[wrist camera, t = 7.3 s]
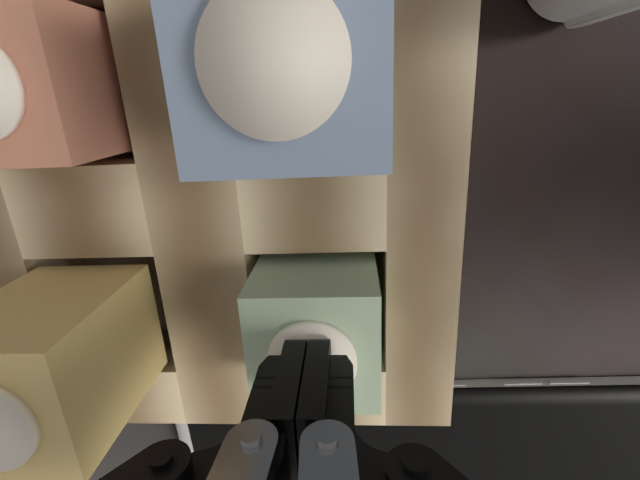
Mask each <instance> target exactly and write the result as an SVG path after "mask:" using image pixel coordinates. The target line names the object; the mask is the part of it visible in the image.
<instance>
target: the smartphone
mask: <svg viewBox="0 0 640 480" xmlns="http://www.w3.org/2000/svg"><path fill="white" fill-rule="evenodd" d="M175 425H176V429H177V433H178V437H179V440H181V441H183V442H185V443H186V444H187V445H188V446H189V448H190V450H191V453H192V452H196V451H200V450H203V449H207V448H211V447H214V446H217V445H219V444H221V443H223V441H224V438H225V436H226V435H227V433H228V432H229V430H230V429H232V428H233V427H234V426H235V425H237V424H177V423H175ZM355 430H356V432H357V434H358V436H359V437H360V438H361V440H362V441H364V442H365V443H366V444H367V445H369V446H371V447H373V448H375V449H378V450H381V451H384V452H388V453H389V452H390V450H391V449H393V448H394V447H396V446H397V445H400V444H404V443H418V444H422V445H425V446H427V447H429V448H431V449H432V450H434V451H435V452H436V453H438V454H439V455H440V456H441V457H442V458H444V459H445V460H446V461H447V462H448V463H450V464H451V465H452V466H453V467H455V468H456V469H457V470H458V471H459V472H461V473H462V474H463V475H464V476H465V477H467V478H468V479H469V480H640V376H608V377H559V378H510V379H462V380H454V386H453V400H452V413H451V426H385V425H355Z"/></svg>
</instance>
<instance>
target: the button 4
mask: <svg viewBox="0 0 640 480" xmlns="http://www.w3.org/2000/svg"><path fill="white" fill-rule="evenodd" d="M237 303H238V311H239V318H240V326H241V334H242V342H243V349H244V357H245V365H246V373H247V381H248V388H249V395H250V392H251V389H252V385H253V382H254V379H255V376H256V373H257V370H258V367H259V365H260V364H261V363H262V362H263V361H264V360H265V358H266V357H267V356H268V355H281V352H282V348H283V344H284V341H285V340H306V339H307V341H308V340H309V339H330V340H331V355H347V356H348V358H349V359H350V361H351V362H352V364H353V376H354V415H381V312H382V297H381V291H380V285H379V278H378V272H377V266H376V260H375V254H374V252H341V253H295V254H261V255H260V257H259V259H258V261H257V262H256V264H255V266H254V268H253V270H252V272H251V274H250V275H249V277H248V279H247V281H246V283H245V285H244V287H243V288H242V290H241V292H240V294H239V296H238V298H237Z"/></svg>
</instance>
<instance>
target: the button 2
mask: <svg viewBox="0 0 640 480" xmlns="http://www.w3.org/2000/svg"><path fill="white" fill-rule="evenodd" d="M167 362H168V361H167V356H166V351H165V346H164V341H163V337H162V332H161V327H160V322H159V317H158V312H157V307H156V302H155V297H154V292H153V287H152V282H151V277H150V272H149V268H148V264H138V265H89V266H40V267H37V268H35V269H33V270H32V271H30V272H28V273H26V274H25V275H23V276H21V277H19V278H17V279H16V280H14V281H12V282H10V283H9V284H7V285H5V286H3V287H2V288H0V480H89V479H90V477H91V476H92V474H93V473H94V471H95V470H96V468H97V467H98V465H99V464H100V462H101V461H102V459H103V458H104V456H105V455H106V453H107V452H108V450H109V449H110V447H111V446H112V444H113V443H114V441H115V440H116V438H117V437H118V435H119V434H120V432H121V431H122V429H123V428H124V426H125V425H126V423H127V422H128V420H129V419H130V417H131V416H132V414H133V413H134V411H135V410H136V408H137V407H138V405H139V404H140V402H141V401H142V399H143V398H144V396H145V395H146V393H147V392H148V390H149V389H150V387H151V386H152V384H153V383H154V381H155V380H156V378H157V377H158V375H159V374H160V372H161V371H162V369H163V368H164V366H165V365H166V363H167Z"/></svg>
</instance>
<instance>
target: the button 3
mask: <svg viewBox="0 0 640 480" xmlns="http://www.w3.org/2000/svg"><path fill="white" fill-rule="evenodd" d="M150 3H151V9H152V15H153V21H154V27H155V33H156V39H157V46H158V52H159V58H160V64H161V70H162V76H163V82H164V88H165V95H166V101H167V107H168V113H169V119H170V125H171V131H172V137H173V144H174V150H175V156H176V162H177V168H178V174H179V180H180V182H195V181H222V180H250V179H278V178H306V177H334V176H361V175H389V174H392V171H393V72H394V0H150Z"/></svg>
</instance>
